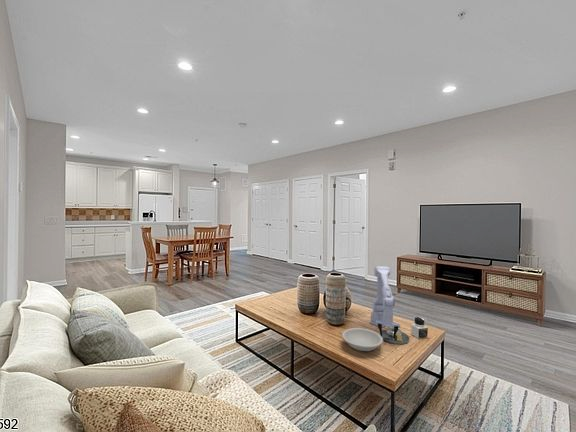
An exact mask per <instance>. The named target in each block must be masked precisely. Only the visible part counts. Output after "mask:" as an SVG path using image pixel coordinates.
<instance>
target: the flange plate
mask: <svg viewBox="0 0 576 432" xmlns="http://www.w3.org/2000/svg"><path fill="white" fill-rule="evenodd" d="M379 335H381V334H380V333H379ZM382 338H383V342H385V343H387V344H391V345H397V346H398V345H399V346H401V345H403V346H404V345H406V344H408V343H409V342H410V337H409V335H408V334H407V333H406V332H404V331H402V341H397V340H396V339H393V338H391V337H389V336H388V335H387V328H385V329H382Z"/></svg>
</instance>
